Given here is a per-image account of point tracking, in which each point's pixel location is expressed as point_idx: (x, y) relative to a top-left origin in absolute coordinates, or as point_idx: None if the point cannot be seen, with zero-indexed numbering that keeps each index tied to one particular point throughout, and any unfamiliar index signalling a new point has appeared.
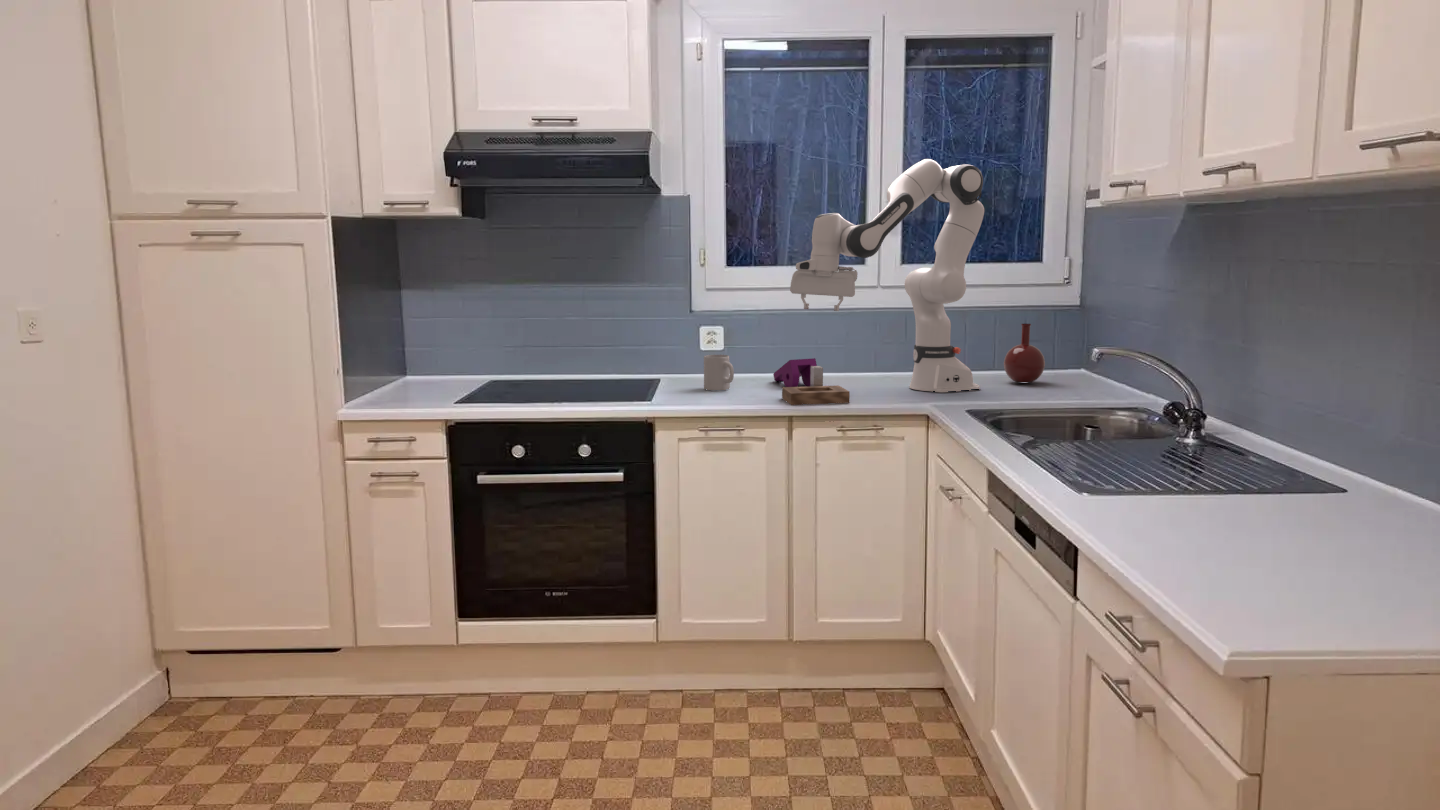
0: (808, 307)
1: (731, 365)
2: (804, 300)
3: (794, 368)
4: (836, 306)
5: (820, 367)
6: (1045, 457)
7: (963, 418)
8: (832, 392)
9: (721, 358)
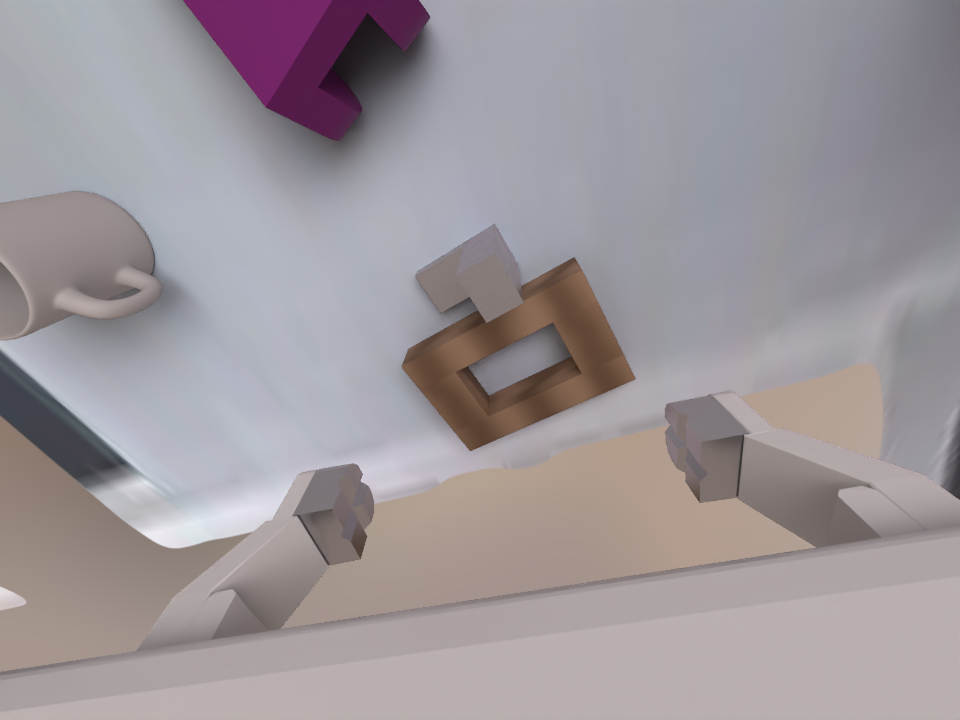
0: (367, 510)
1: (112, 314)
2: (294, 608)
3: (317, 113)
4: (723, 487)
5: (511, 302)
6: None
7: (918, 464)
8: (581, 401)
9: (36, 324)
